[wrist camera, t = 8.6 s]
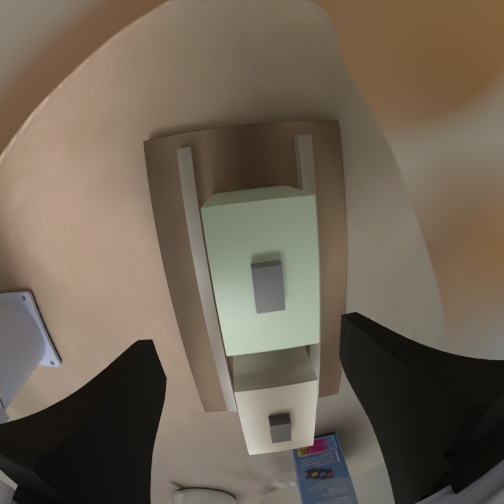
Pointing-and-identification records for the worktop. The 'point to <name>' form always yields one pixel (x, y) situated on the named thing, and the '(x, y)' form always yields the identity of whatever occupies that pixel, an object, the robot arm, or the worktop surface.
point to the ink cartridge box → (323, 473)
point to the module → (264, 267)
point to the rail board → (200, 281)
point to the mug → (200, 497)
